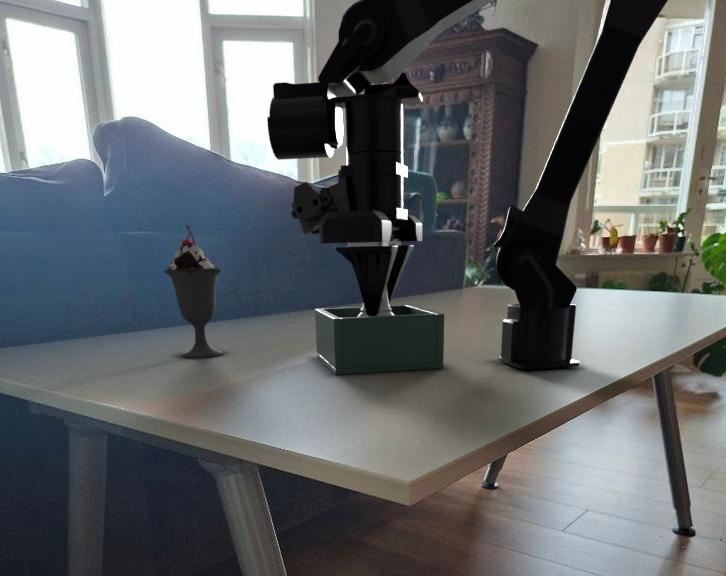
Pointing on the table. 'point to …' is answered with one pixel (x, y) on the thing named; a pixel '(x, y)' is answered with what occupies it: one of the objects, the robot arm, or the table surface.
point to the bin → (379, 340)
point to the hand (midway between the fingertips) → (377, 313)
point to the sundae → (195, 292)
